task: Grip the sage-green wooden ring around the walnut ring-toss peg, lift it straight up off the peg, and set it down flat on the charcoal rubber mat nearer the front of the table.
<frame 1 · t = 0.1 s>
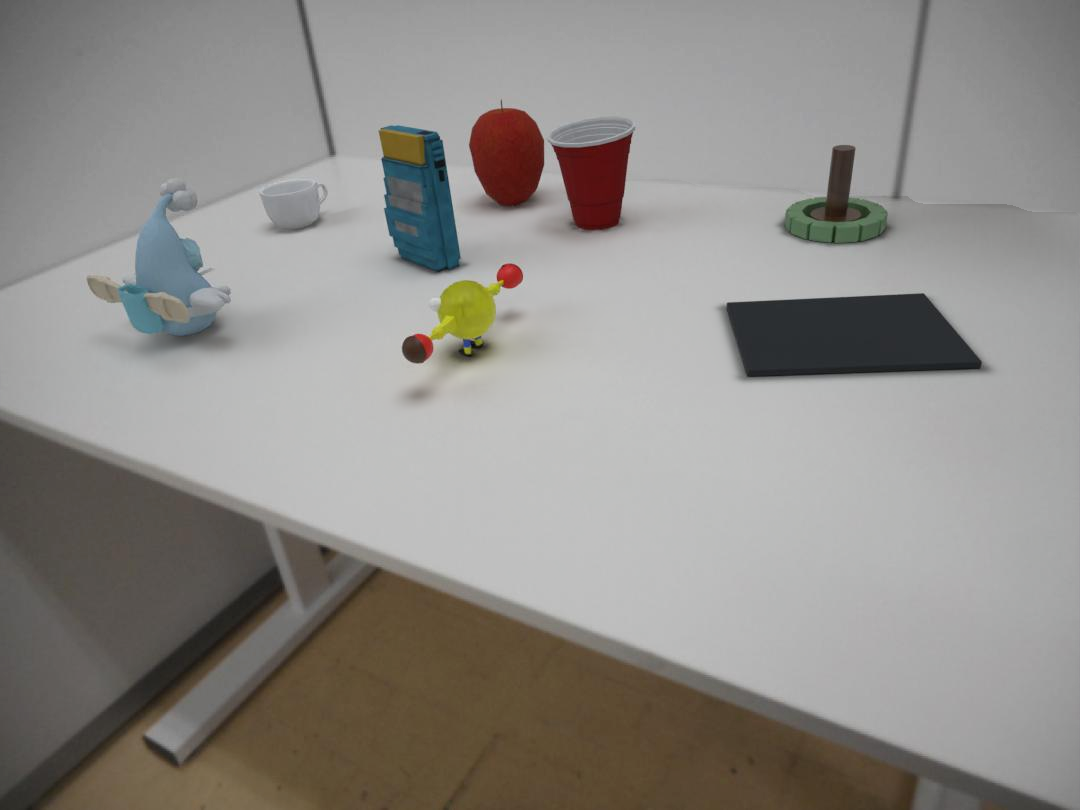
plastic cup: (595, 224, 95), on the table
toy figure 2: (193, 332, 78), on the table
teacup: (304, 223, 107), on the table
peg stand: (834, 226, 87), on the table
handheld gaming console: (428, 262, 89), on the table
toy figure: (472, 352, 69), on the table
mat: (841, 335, 65), on the table
apple: (512, 203, 106), on the table
ring: (834, 226, 87), on the table
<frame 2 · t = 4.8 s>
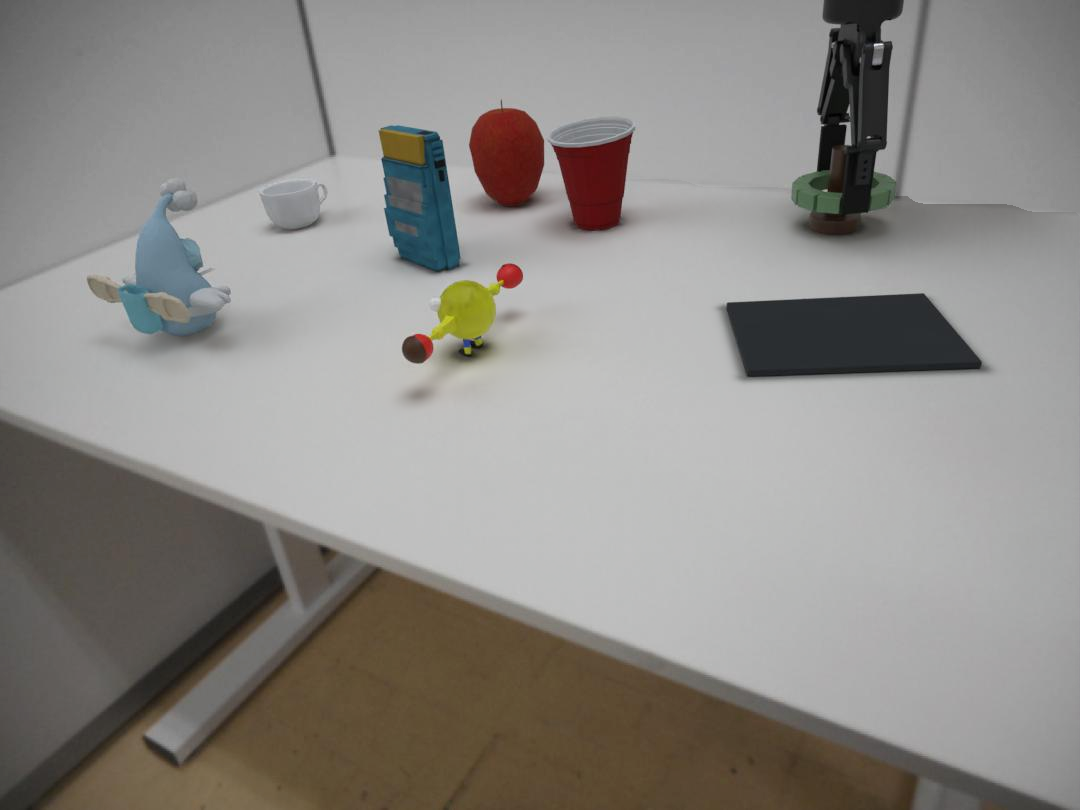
hand: (840, 196, 85), 4 cm above the table, tool pointing down, fingers closed on ring, 11 cm apart
ring: (841, 198, 85), point 3 cm above the table, touching gripper
everything else where it was.
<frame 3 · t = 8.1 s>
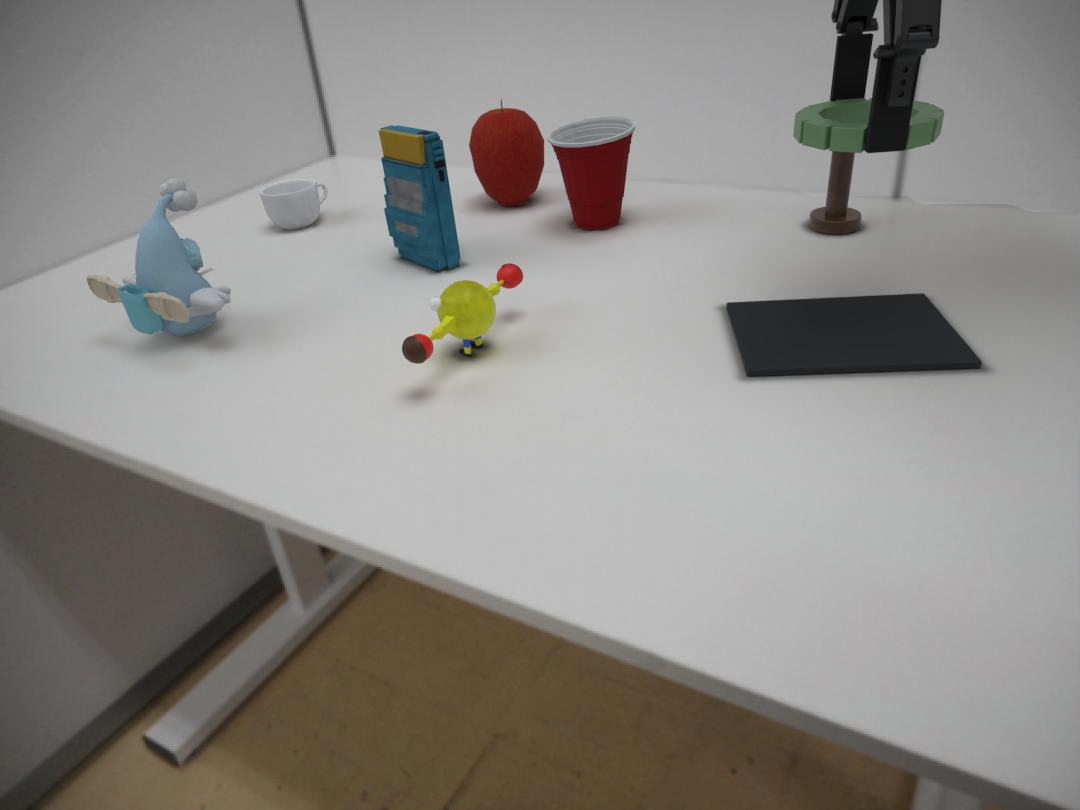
hand: (862, 132, 60), 16 cm above the table, tool pointing down, fingers closed on ring, 11 cm apart
ring: (864, 135, 61), point 16 cm above the table, touching gripper
everything else where it was.
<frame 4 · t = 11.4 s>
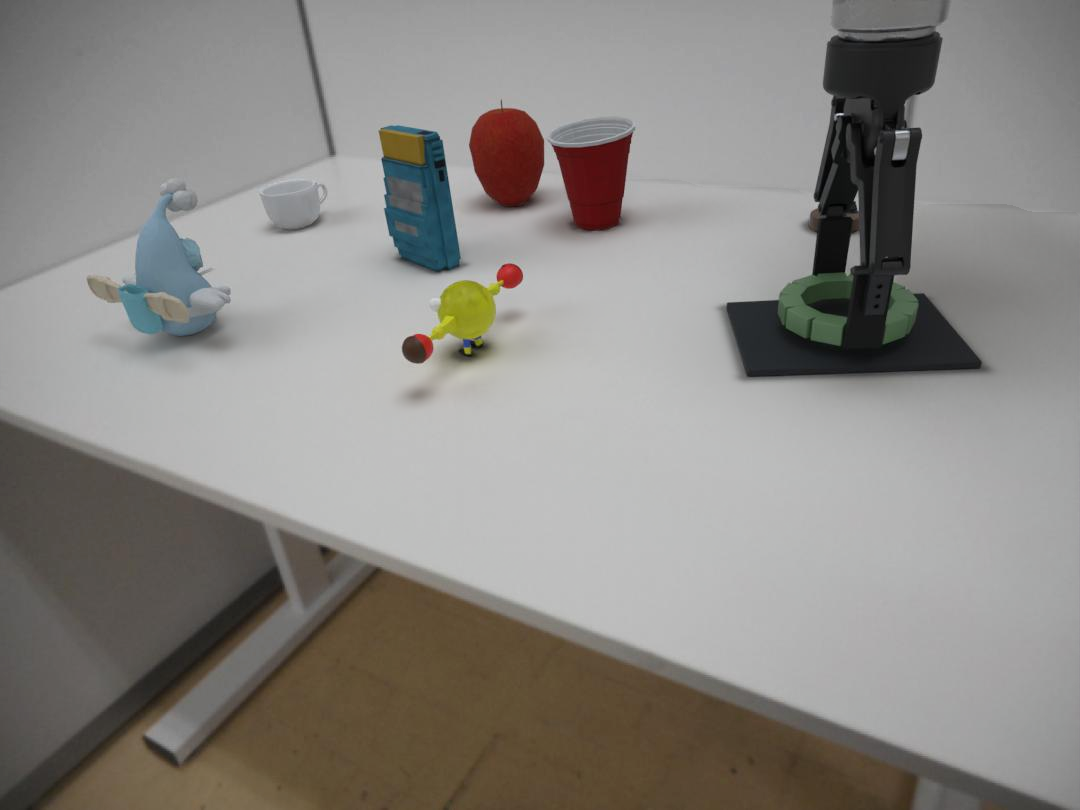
hand: (843, 314, 64), 2 cm above the table, tool pointing down, fingers closed on ring, 11 cm apart
ring: (844, 316, 64), point 2 cm above the table, touching gripper
everything else where it was.
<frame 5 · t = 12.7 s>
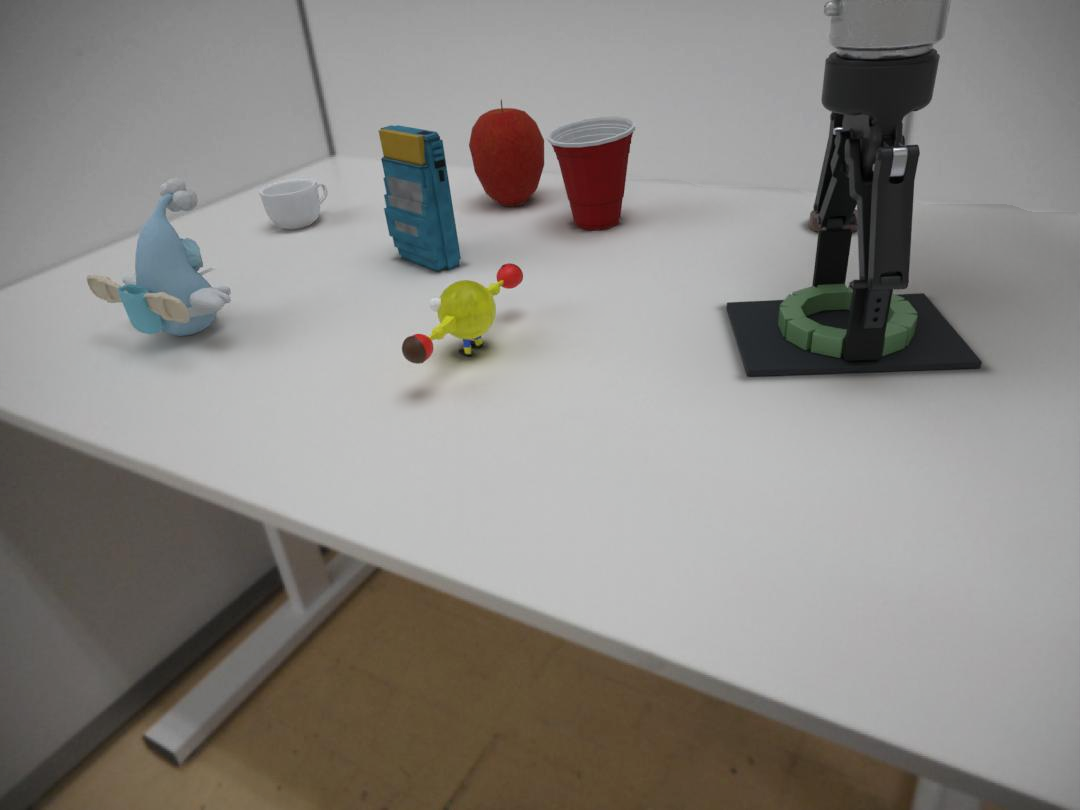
hand: (842, 325, 65), 1 cm above the table, tool pointing down, fingers closed on ring, 11 cm apart
ring: (844, 328, 65), point 1 cm above the table, touching gripper
everything else where it was.
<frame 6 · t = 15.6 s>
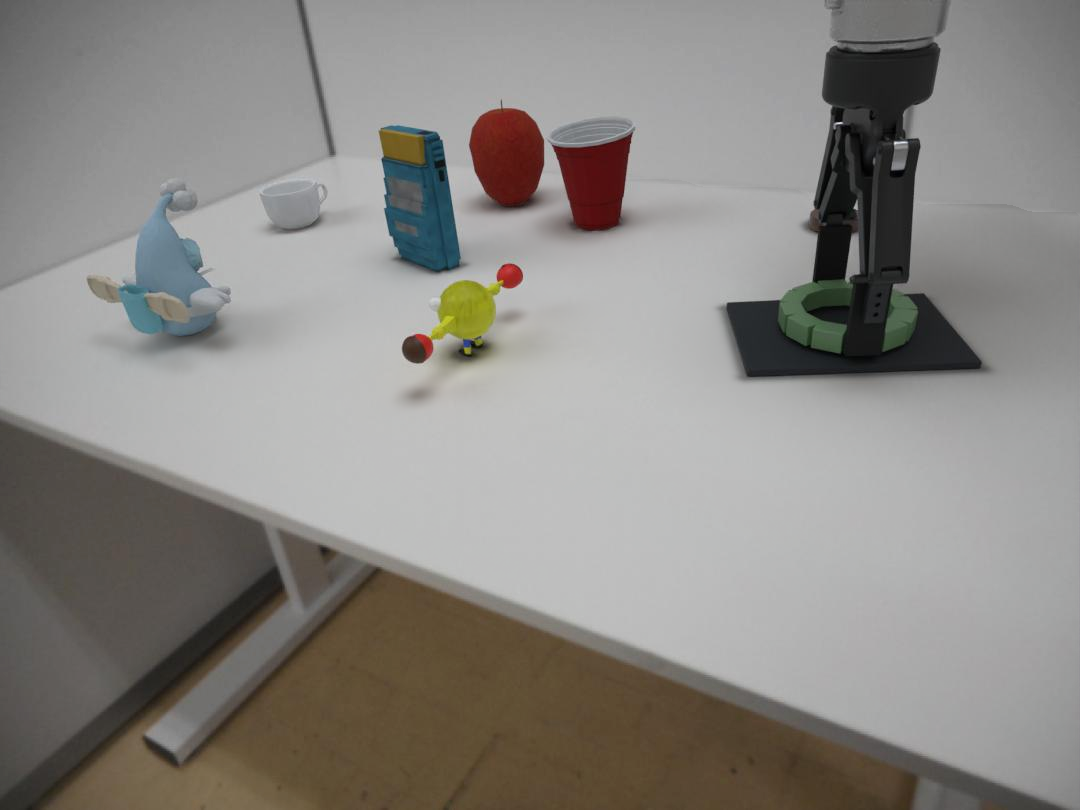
hand: (842, 321, 64), 1 cm above the table, tool pointing down, fingers closed on ring, 11 cm apart
ring: (844, 323, 65), point 1 cm above the table, touching gripper
everything else where it was.
when the fingers open (1 cm above the table, at t = 18.2 s): ring stays where it is, resting on mat.
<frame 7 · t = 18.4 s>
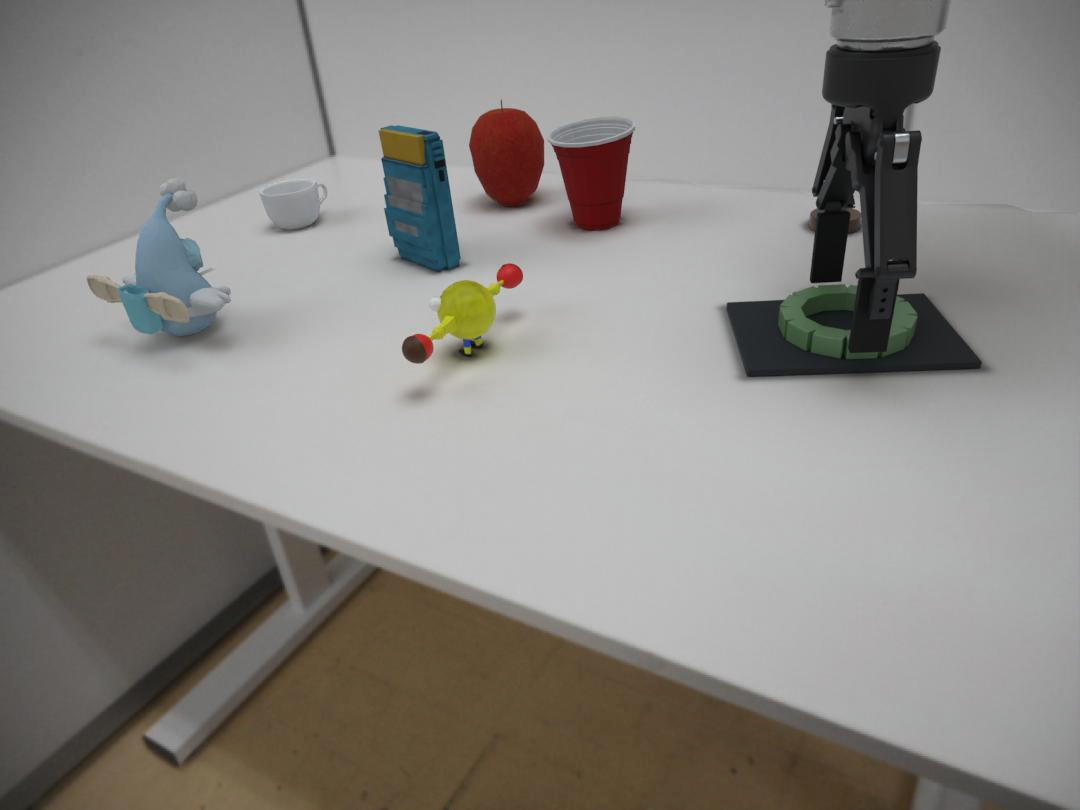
hand: (844, 313, 64), 2 cm above the table, tool pointing down, fingers open, 13 cm apart
ring: (844, 328, 65), point 1 cm above the table, touching mat
everything else where it was.
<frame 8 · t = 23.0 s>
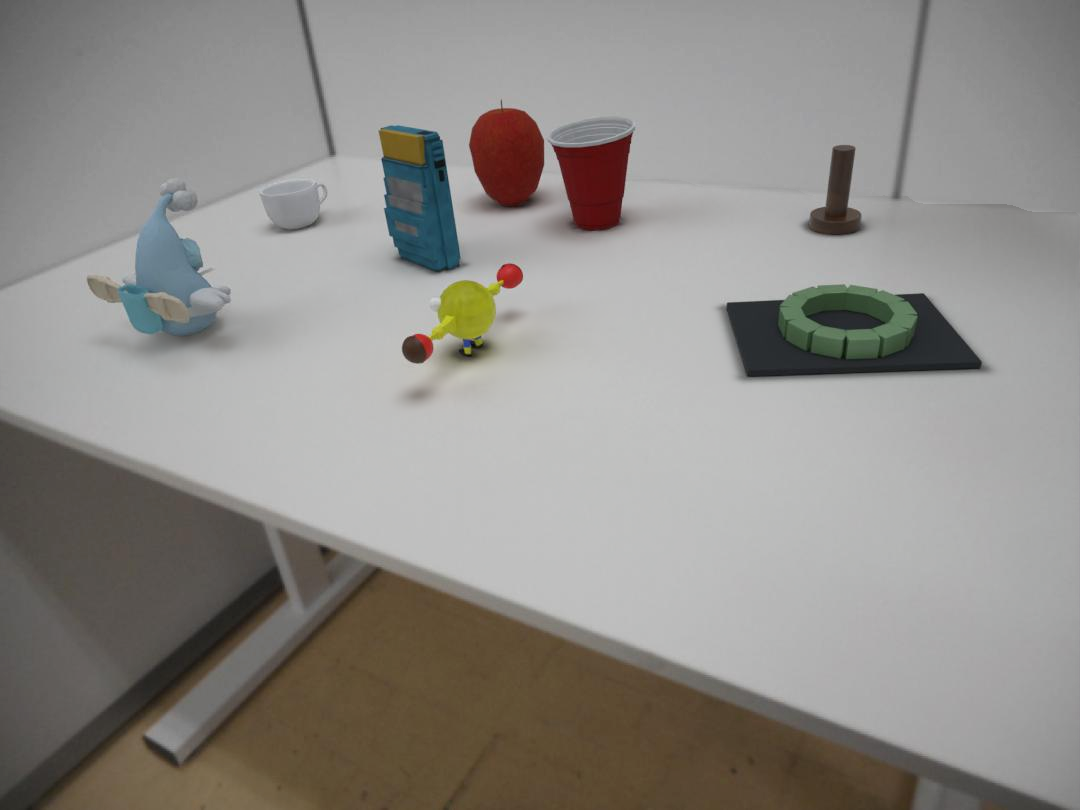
nothing on the table moved.
at the end: ring inside the target area on the mat (0.2 cm from its centre), point 0.6 cm above the mat's base; the gripper is holding nothing; ring tilted 0° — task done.
